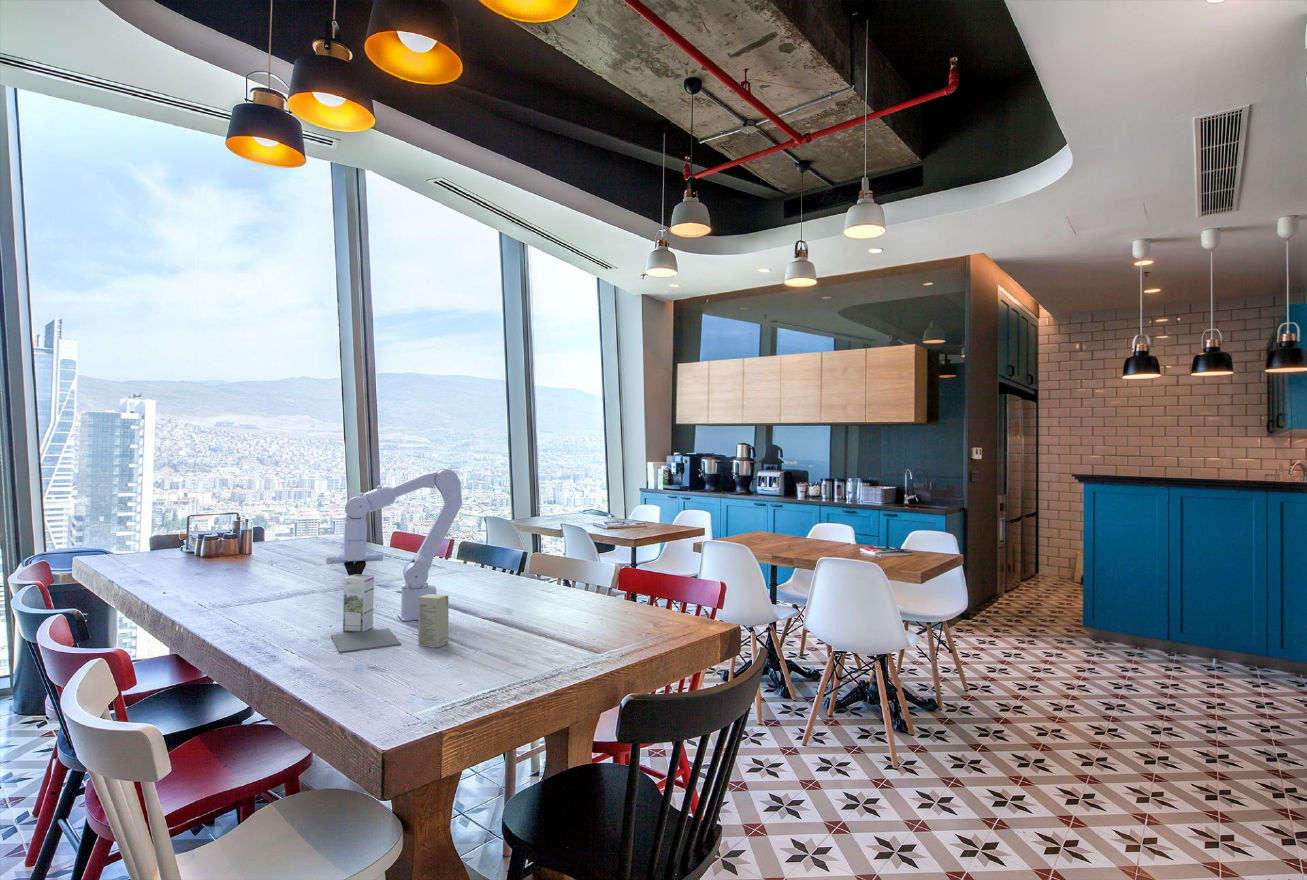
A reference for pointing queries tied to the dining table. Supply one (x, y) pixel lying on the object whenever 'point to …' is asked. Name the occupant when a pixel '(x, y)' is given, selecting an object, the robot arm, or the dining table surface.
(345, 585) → the syrup box
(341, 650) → the grey mat
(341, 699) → the dining table surface
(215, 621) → the dining table surface
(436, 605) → the skincare box
